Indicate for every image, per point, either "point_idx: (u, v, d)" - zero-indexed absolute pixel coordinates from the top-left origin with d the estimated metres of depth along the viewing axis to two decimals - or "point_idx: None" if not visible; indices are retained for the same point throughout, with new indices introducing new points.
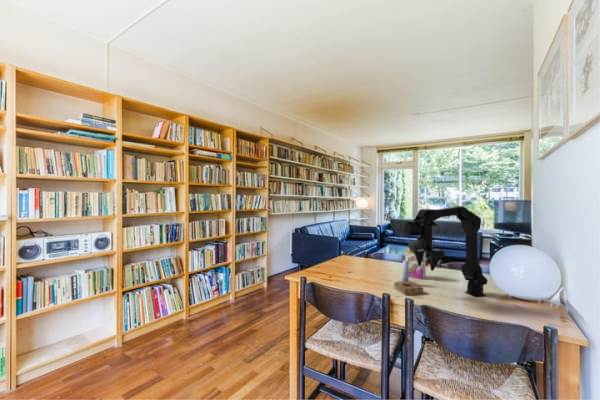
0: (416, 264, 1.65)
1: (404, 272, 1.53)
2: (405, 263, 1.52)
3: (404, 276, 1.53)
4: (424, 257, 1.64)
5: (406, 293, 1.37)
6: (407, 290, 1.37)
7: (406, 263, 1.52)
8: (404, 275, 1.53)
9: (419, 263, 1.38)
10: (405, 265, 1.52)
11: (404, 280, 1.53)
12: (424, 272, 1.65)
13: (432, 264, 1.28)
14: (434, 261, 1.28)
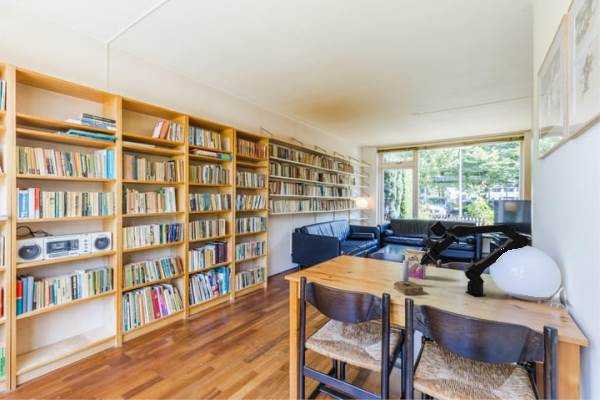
0: (416, 264, 1.65)
1: (404, 272, 1.53)
2: (405, 263, 1.52)
3: (404, 276, 1.53)
4: None
5: (406, 293, 1.37)
6: (407, 290, 1.37)
7: (406, 263, 1.52)
8: (404, 275, 1.53)
9: (422, 259, 1.54)
10: (405, 265, 1.52)
11: (404, 280, 1.53)
12: (424, 272, 1.65)
13: (423, 260, 1.44)
14: (427, 259, 1.43)
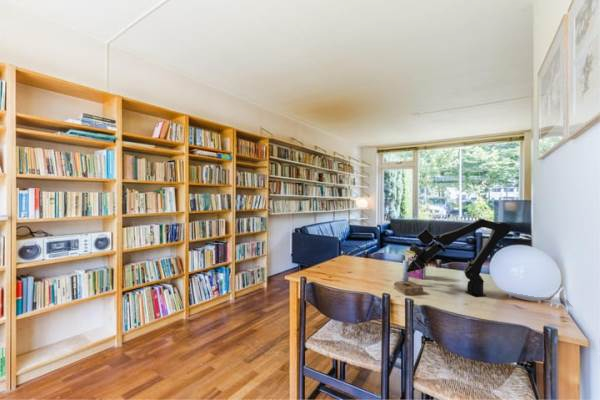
0: None
1: (404, 272, 1.53)
2: (405, 263, 1.52)
3: (404, 276, 1.53)
4: None
5: (406, 293, 1.37)
6: (407, 290, 1.37)
7: (406, 263, 1.52)
8: (404, 275, 1.53)
9: (409, 266, 1.57)
10: (405, 265, 1.52)
11: (404, 280, 1.53)
12: (424, 272, 1.65)
13: (410, 267, 1.47)
14: (413, 267, 1.46)
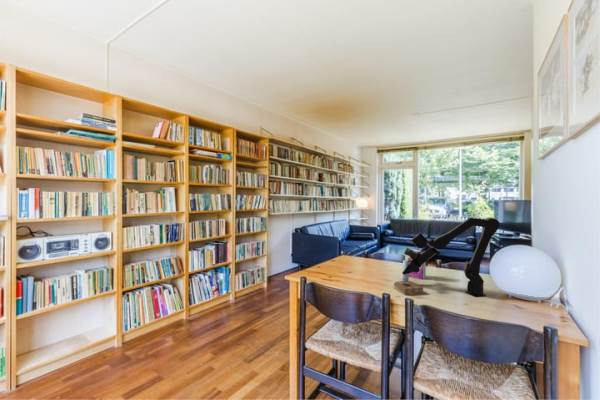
0: None
1: None
2: (405, 263, 1.52)
3: (404, 276, 1.53)
4: None
5: (406, 293, 1.37)
6: (407, 290, 1.37)
7: (406, 263, 1.52)
8: (404, 275, 1.53)
9: None
10: (405, 265, 1.52)
11: (404, 280, 1.53)
12: (424, 272, 1.65)
13: (405, 269, 1.51)
14: (409, 269, 1.50)
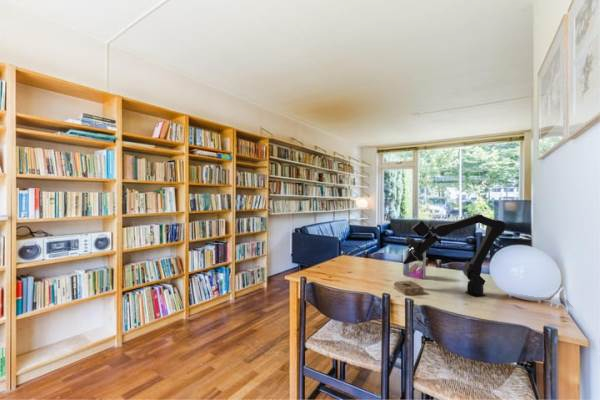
0: (416, 264, 1.65)
1: None
2: (406, 252, 1.47)
3: (405, 266, 1.47)
4: (424, 257, 1.64)
5: (406, 293, 1.37)
6: (407, 290, 1.37)
7: (407, 252, 1.47)
8: (405, 265, 1.47)
9: None
10: (406, 254, 1.47)
11: (405, 270, 1.47)
12: (424, 272, 1.65)
13: (407, 259, 1.45)
14: (410, 258, 1.45)
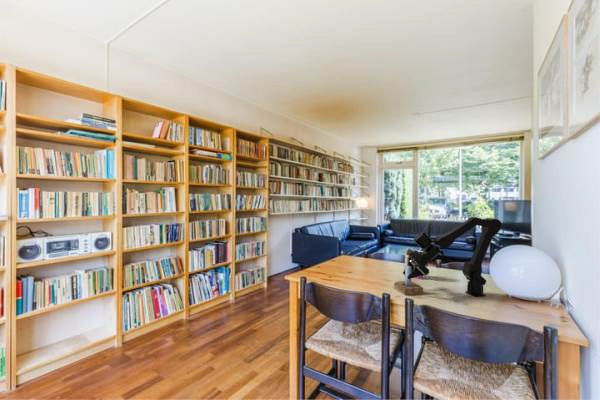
0: None
1: (407, 279, 1.42)
2: (409, 269, 1.41)
3: (407, 283, 1.42)
4: None
5: (406, 293, 1.37)
6: (407, 290, 1.37)
7: (410, 269, 1.41)
8: (407, 282, 1.42)
9: (404, 272, 1.47)
10: (409, 271, 1.41)
11: None
12: None
13: (412, 273, 1.38)
14: (415, 273, 1.37)
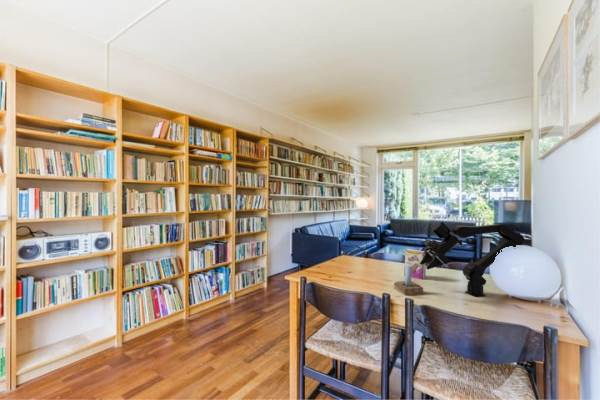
0: (416, 264, 1.65)
1: (407, 279, 1.42)
2: (409, 269, 1.41)
3: (407, 283, 1.42)
4: None
5: (406, 293, 1.37)
6: (407, 290, 1.37)
7: (410, 269, 1.41)
8: (407, 282, 1.42)
9: (422, 262, 1.46)
10: (409, 271, 1.41)
11: None
12: (424, 272, 1.65)
13: (431, 264, 1.36)
14: (434, 263, 1.36)
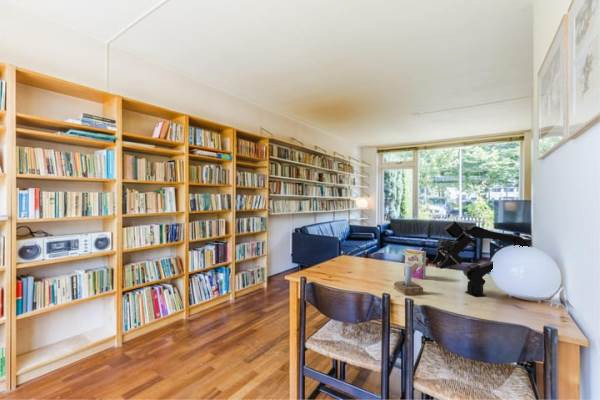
0: (416, 264, 1.65)
1: (407, 279, 1.42)
2: (409, 269, 1.41)
3: (407, 283, 1.42)
4: (424, 257, 1.64)
5: (406, 293, 1.37)
6: (407, 290, 1.37)
7: (410, 269, 1.41)
8: (407, 282, 1.42)
9: (434, 262, 1.46)
10: (409, 271, 1.41)
11: None
12: (424, 272, 1.65)
13: (444, 263, 1.36)
14: (448, 262, 1.36)
